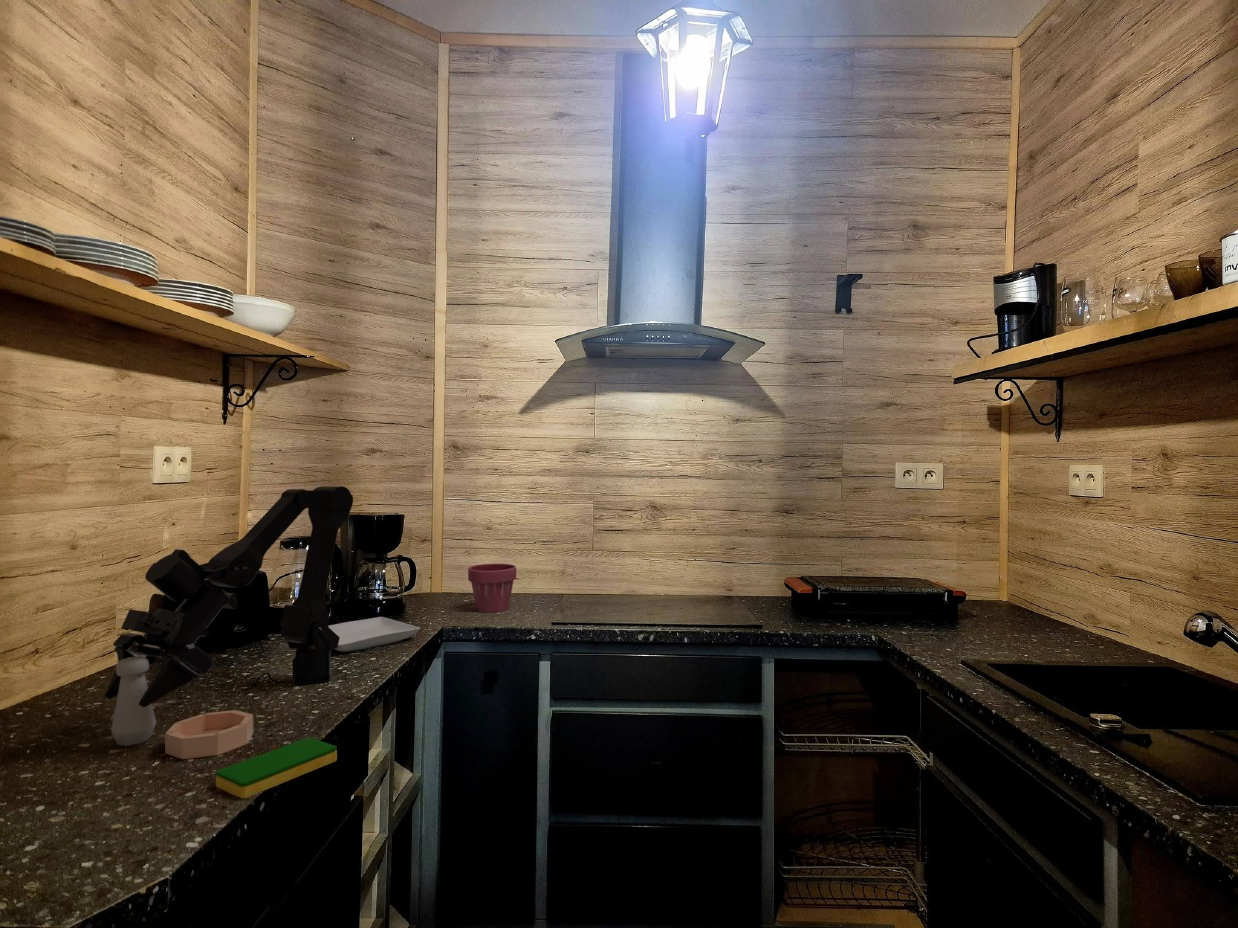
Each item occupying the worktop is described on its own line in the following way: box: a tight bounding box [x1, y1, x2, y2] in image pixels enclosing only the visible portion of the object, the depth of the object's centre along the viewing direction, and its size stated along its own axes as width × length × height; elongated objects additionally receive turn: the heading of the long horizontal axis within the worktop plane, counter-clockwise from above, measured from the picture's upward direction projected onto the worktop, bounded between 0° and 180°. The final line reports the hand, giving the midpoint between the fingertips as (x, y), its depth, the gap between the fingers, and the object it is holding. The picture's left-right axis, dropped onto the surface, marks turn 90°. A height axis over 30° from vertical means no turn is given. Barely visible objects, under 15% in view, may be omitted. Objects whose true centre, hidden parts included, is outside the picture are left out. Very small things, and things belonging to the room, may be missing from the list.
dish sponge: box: [215, 737, 338, 799], centre depth 97 cm, size 7×14×2 cm, turn 147°
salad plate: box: [328, 616, 420, 653], centre depth 170 cm, size 21×21×3 cm
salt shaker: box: [110, 657, 157, 747], centre depth 109 cm, size 6×6×13 cm
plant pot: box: [467, 563, 517, 614], centre depth 205 cm, size 14×14×13 cm
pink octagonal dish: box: [164, 709, 254, 760], centre depth 107 cm, size 11×11×3 cm
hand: (123, 701), depth 107 cm, fingers open, 9 cm apart
